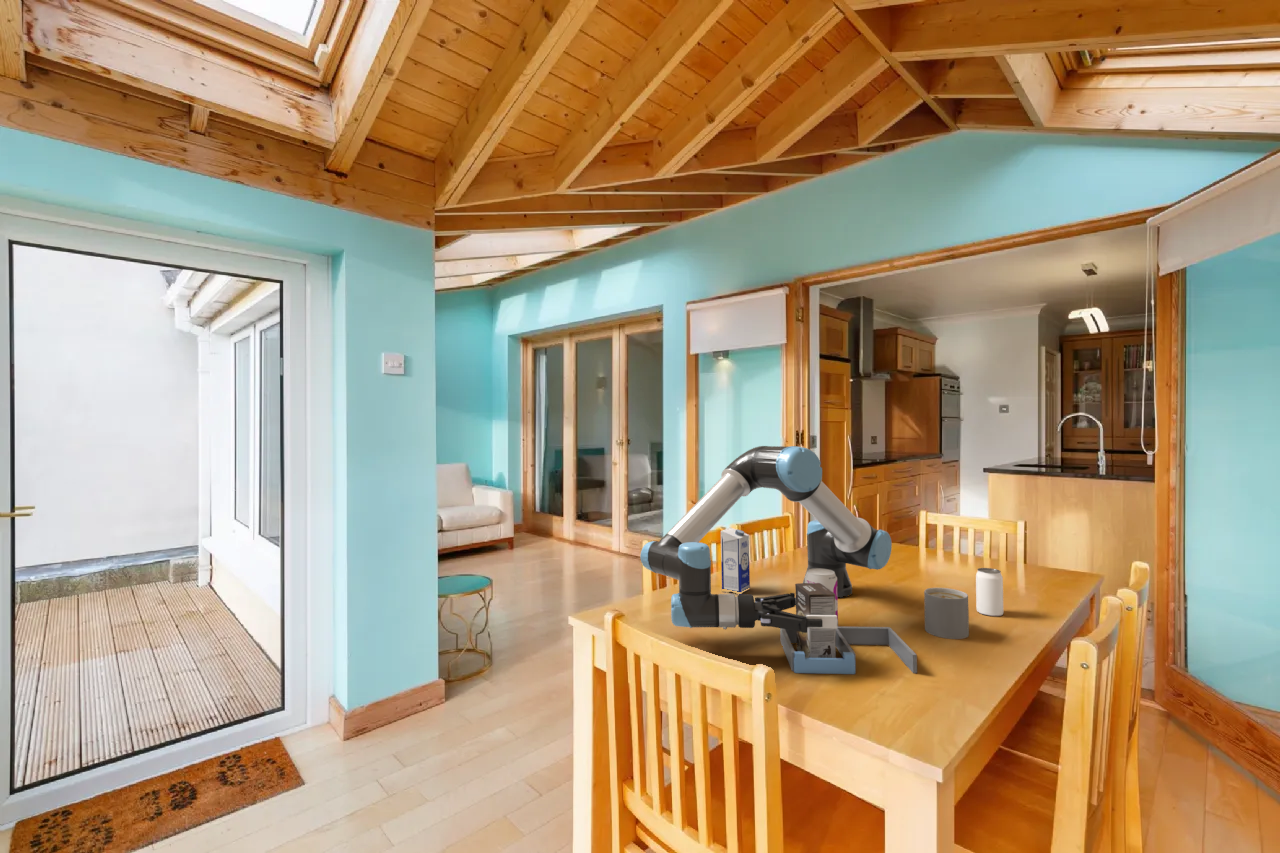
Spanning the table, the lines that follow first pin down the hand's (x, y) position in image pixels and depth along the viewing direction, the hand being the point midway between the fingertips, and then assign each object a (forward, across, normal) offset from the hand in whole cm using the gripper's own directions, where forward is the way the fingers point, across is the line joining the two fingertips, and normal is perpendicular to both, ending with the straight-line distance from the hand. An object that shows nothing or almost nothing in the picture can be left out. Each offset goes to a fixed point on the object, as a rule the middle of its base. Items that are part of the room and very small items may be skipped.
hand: (829, 611), depth 134 cm
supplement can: (+2, -19, -11) cm, 22 cm away
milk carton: (-18, -53, -11) cm, 57 cm away
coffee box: (-3, 0, -11) cm, 11 cm away
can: (+51, -33, -11) cm, 62 cm away
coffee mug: (+34, -19, -11) cm, 40 cm away
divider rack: (+3, 0, -10) cm, 11 cm away
